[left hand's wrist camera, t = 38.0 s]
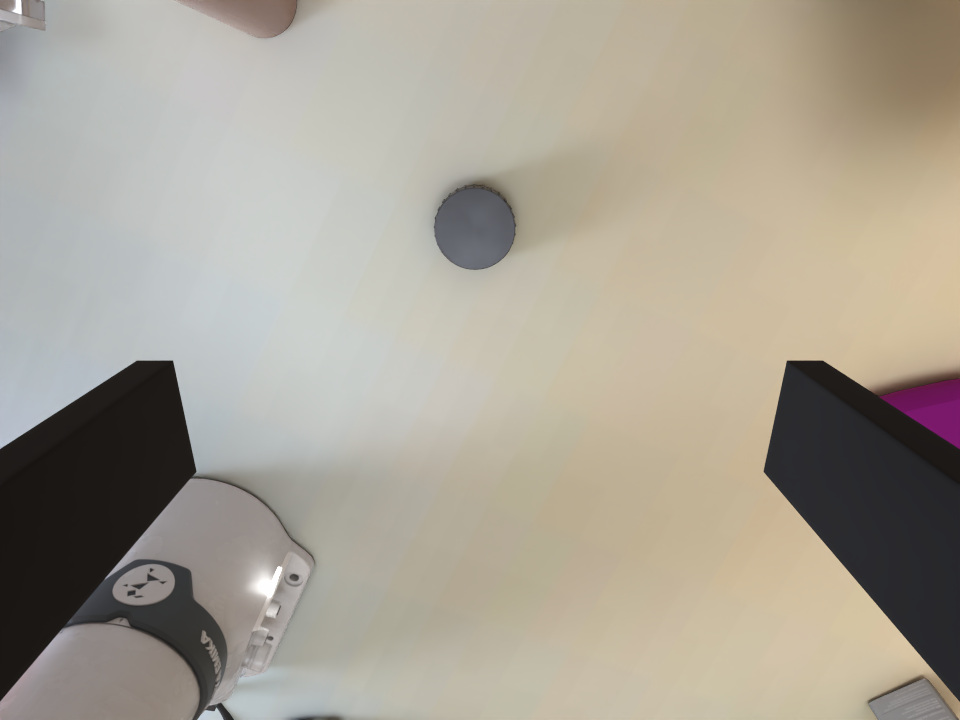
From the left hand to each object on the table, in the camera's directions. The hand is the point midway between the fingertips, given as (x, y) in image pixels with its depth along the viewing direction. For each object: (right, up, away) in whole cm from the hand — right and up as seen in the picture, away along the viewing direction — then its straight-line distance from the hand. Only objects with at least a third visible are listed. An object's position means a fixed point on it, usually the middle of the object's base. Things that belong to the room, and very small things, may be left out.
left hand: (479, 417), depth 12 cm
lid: (0, +10, +27) cm, 29 cm away
